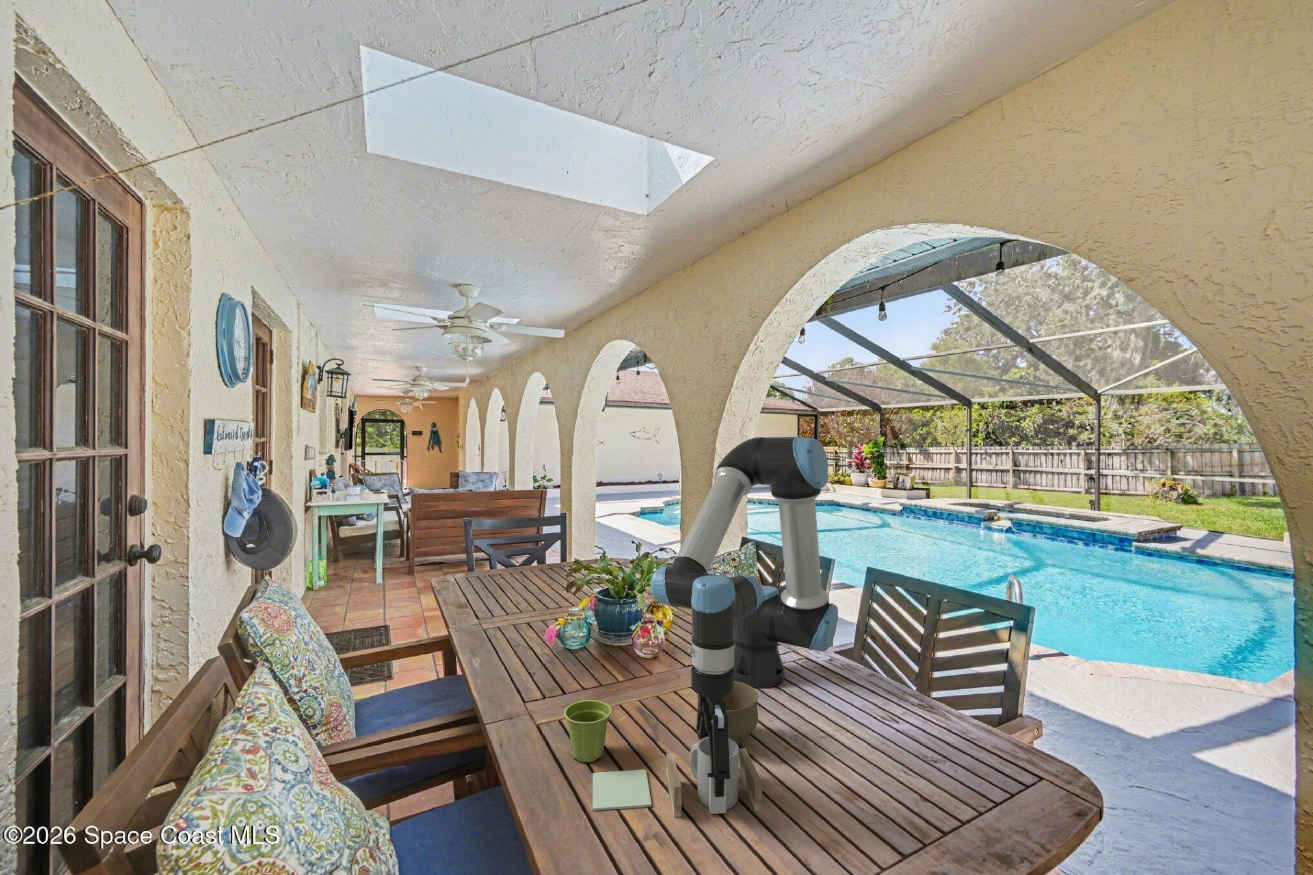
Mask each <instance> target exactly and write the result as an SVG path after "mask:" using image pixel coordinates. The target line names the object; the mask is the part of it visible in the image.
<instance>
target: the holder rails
mask: <svg viewBox="0 0 1313 875" xmlns="http://www.w3.org/2000/svg"><path fill="white" fill-rule="evenodd" d="M665 758H666V760H665V761H666V762H665V763H666V764H665V765H666V767H665V768H666V770H665V772H666V776H665V777H666V778H665V779H666V780H665V781H666V785H667V790H668V795H669V799H670V803H671V809H672V813H673V817H674V818H679V817H681V818H682V783H681V779H680V775H679V773H678V772H679V771H678V768H677V763H676V760H675V756H674V753H673V752H666V757H665ZM739 778H740V780H741V783H742V785H743V787H744V789H745V792H746V794H747V797H748V798H749V801H750V804H751V806H752V808H753V810H754V812H761V811H762V809H763V808H762V806H763V805H762V804H763V801H762V800H763V796H762V795H763V789H762V788H763V784H762V783H763V782H762V779H761V777H760V774H759V772H758V771H757V768H756V767H755V764H754V762H753V760H752V758H751V757H750V754H749V752H748V751H747V748H746V747H745V748H739Z"/></svg>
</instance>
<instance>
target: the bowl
mask: <svg viewBox="0 0 1313 875" xmlns="http://www.w3.org/2000/svg"><path fill="white" fill-rule="evenodd" d="M696 697H697V698H696V699H697V700H698V694H697V696H696ZM758 699H759V694H758V691H757V690H756V689H755V687H751V686H749V685H747V684H745V683H741V682H736V681H734V688H733V690H732V692H731V693H729V694H727V695H725V696H724V697H723V698H722V700H723V702H725V706H726V712H725V714H727V715H728V717H729V720H728V738H729V739H731V740H733V741H735V742H736V743H737V745H738V744H740V743H741V742H742V741H743V740H744V739H746V738H748V737H749V736H750V735H751V734H752V733H753V732H754V731H755V729H756V727H757V725H758V723H759V713H758V712H759V711H758Z"/></svg>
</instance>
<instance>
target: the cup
mask: <svg viewBox="0 0 1313 875" xmlns="http://www.w3.org/2000/svg"><path fill="white" fill-rule="evenodd" d="M728 742H729V766H730V779H726V811H727V810H729V809H731V808H733V807H734V806H736V804H737V802H738V801H739V795H740V794H739V790H740V789H739V787H740V786H739V782H740V781H739V778H740V776H739V749H740V747H739V745H738V744H737V743H736V742H735V741H733V740H731V739H729V738H728ZM690 749H691V750H690V751H689V766H690V771H691V773H692V775H693V777H694V779H696V780H697V782H696V784H697V785H696V786H697V787H696V789H697V791H696V793H697V798H698V800H699V801H700V803H701V804H702V805H703V806H705V807H706V808H707V809H709V789H710V777H708V776H707V773H710V772H711V759H710V746H709V737H706V738H703V739H702V740H701V739H700V740H699V741H698V742H695V743H694V744H692V747H691V748H690Z"/></svg>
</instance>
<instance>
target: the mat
mask: <svg viewBox="0 0 1313 875" xmlns="http://www.w3.org/2000/svg"><path fill="white" fill-rule="evenodd" d="M647 774H648V773H647V769H635V770H633V769H632V770H616V771H603V772H602V771H601V772H592V811H593V812H596V811H605V810H606V811H610V810H622V809H626V810H627V809H639V808H652V799H651V794H650V792H651V791H650V787H649V786H650V785H649V780H648V775H647Z"/></svg>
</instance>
